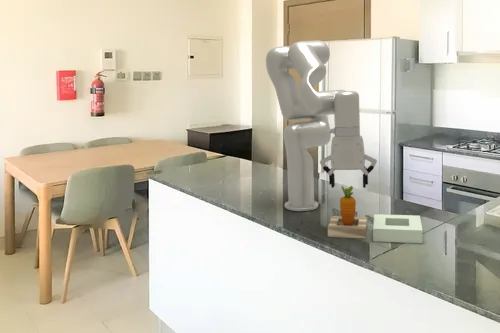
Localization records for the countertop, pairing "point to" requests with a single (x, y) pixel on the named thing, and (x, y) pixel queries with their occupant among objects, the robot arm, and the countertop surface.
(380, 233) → the pale green square frame
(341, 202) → the carrot
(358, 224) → the socket block
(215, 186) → the countertop surface
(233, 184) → the countertop surface
